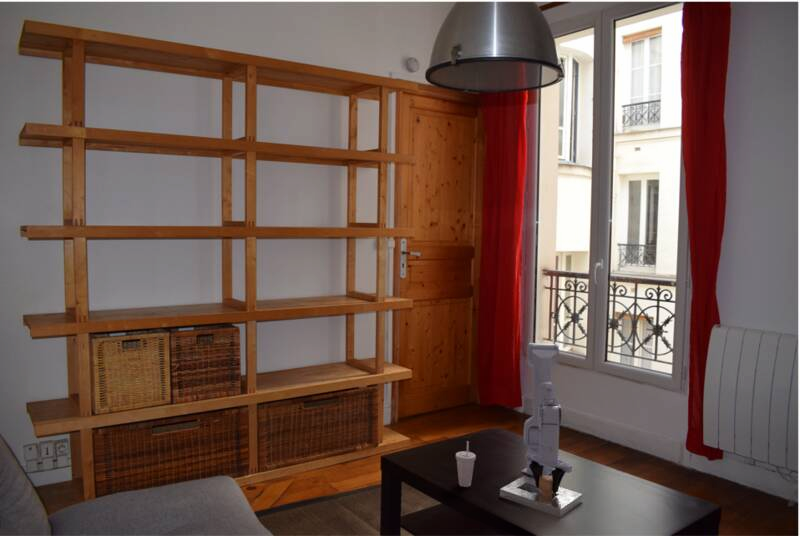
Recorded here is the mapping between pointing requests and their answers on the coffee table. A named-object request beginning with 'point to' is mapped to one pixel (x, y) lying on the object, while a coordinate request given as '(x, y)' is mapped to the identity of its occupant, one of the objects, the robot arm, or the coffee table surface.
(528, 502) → the keyhole plate
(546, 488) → the peg
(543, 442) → the robot arm
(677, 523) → the coffee table surface
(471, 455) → the smoothie
